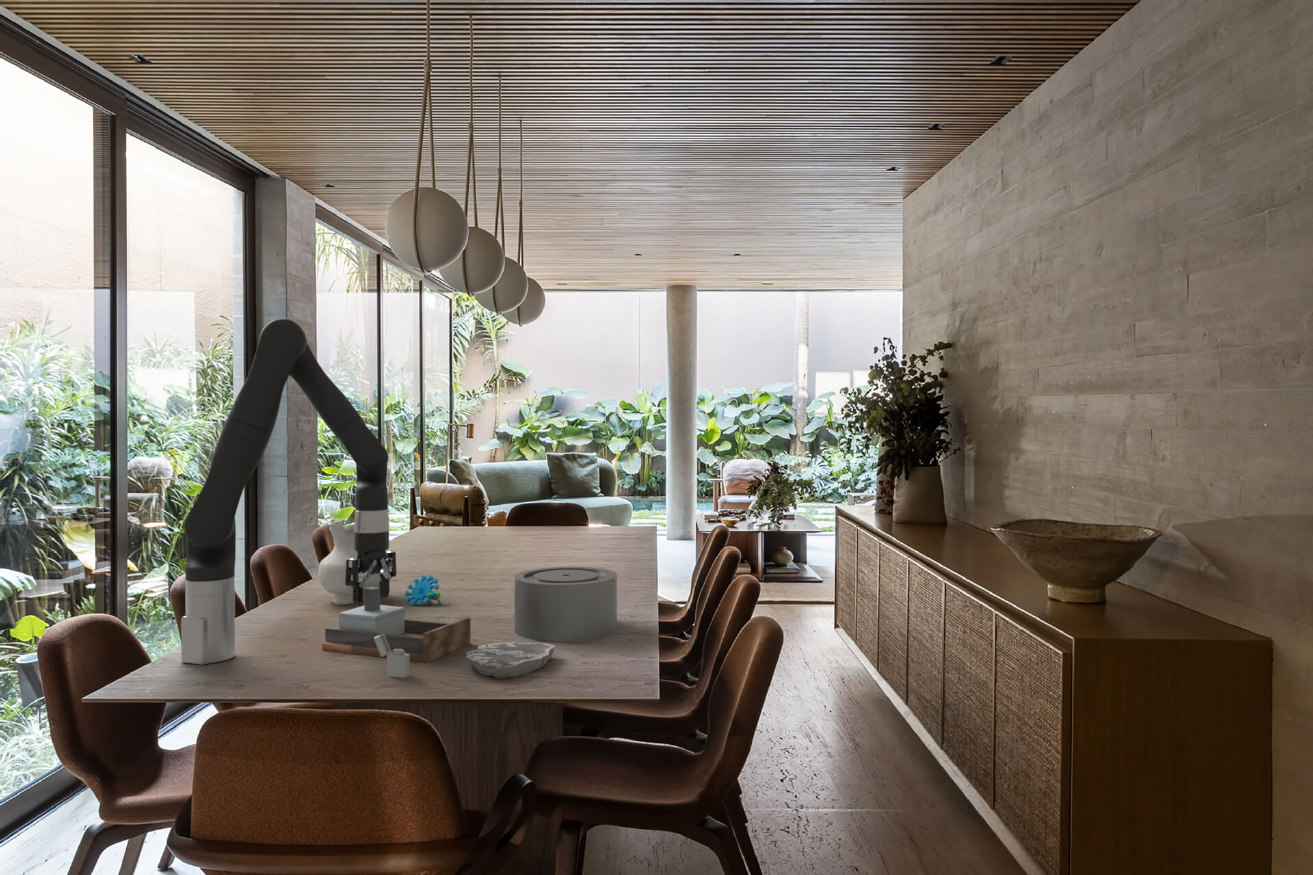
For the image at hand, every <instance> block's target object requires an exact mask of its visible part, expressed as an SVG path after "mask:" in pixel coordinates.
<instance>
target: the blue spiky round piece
mask: <svg viewBox="0 0 1313 875" xmlns="http://www.w3.org/2000/svg"><path fill="white" fill-rule="evenodd" d="M413 583H414V586H413V585H412V583H409V585H407V588H408V590H411V592H410V591H408V590H406V591H404V596H405V601H406V603H409V605H411V606H413V607H414V606H415V605H417V606H420V607H421V606H422V605H423V601H424V602H425V603H430V602H431V601H432V600H434V601H437V603H438V604H441V603H442V601H441V599H440V597H441V593H440V591H439V588H440V585H439V580H438V579H437V577H436V578H434V577H433V575H431V574H430V575H428V577H427V576H426V575H425V574H424V575H421V580H420V579H419V578H415V579H413ZM433 589H434V590H435V591H433Z"/></svg>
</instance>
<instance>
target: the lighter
mask: <svg viewBox="0 0 1313 875" xmlns="http://www.w3.org/2000/svg"><path fill="white" fill-rule="evenodd" d="M374 640H375V643H376V645H377V648H378V650H379V652H380V655H381V658H384V657H383V656H385V655H387V657H386V664H387V665H386V670H387V671H386V672H387V674H386V676H387V677H390V678H401V679H406V678H408V677H410V672H411V670H410V666H411V665H410V663H411V660H410V654H404V653H405V652H404V650H403V649H394V650H393V653H391V649H390V647H389V645H388V642H387V640H386V637H385V635H384V634H381V635H379V636H377V637H375V638H374Z"/></svg>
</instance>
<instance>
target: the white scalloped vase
mask: <svg viewBox="0 0 1313 875" xmlns="http://www.w3.org/2000/svg"><path fill="white" fill-rule="evenodd" d="M330 523H331V525H330V527H329V531H330V533H331V536H332V538H333V539H332V540H333V544H334V545H333V549H332V551H331V552H330V553H329V554H327V556H325V557H324V558H323V559H322V560H321V561H320V562H319V565H318V579H319V582H320V583H321V586H322V587H323V588H324V590H325V591H326V592H327V593H328V594H329V593H330V594H333V595H334V598H333V600H332V602H333V605H337V606H339V605H340V606H341V605H349V604H350V605H351V604H354V602H353V588H352V587H351V586H347V585H346V584H345V578H346V560H347V559H348V558H349V559H357V555H358V553H357V551H355V549H354V523H353V524H347V525H344V524H343V521H342V519H341V518H340V519H339V518H338V519H335V520H331V521H330ZM389 568H390V571H391V567H390V566H389ZM361 573H362V572H361ZM351 580H353V576H352V575H351ZM359 581H360V579H359V580H358V582H359ZM379 581H381V580H380V578H379V577H378V575H377V574H373V575H370V577H369V578H368V579H367V580H366V581H365V583H364V585H363V588H364V589H366V588H369V587H378V588H379Z"/></svg>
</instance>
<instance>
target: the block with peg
mask: <svg viewBox="0 0 1313 875" xmlns="http://www.w3.org/2000/svg"><path fill="white" fill-rule="evenodd" d="M363 604H364V605H362V606H361V605H360V606H357V607H354V608H351V609H348V610H345V611H342V612H338V628H339V629H348V630H358V631H367V632H376V633H385V634H394V635H401V634H403V633H404V619H405V614H406V612H405V611H406V610H405V607H404V606H394V605H393V606H391V605H384V604H381V597H380V588H378V587H369V588H366V589H364V603H363Z"/></svg>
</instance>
